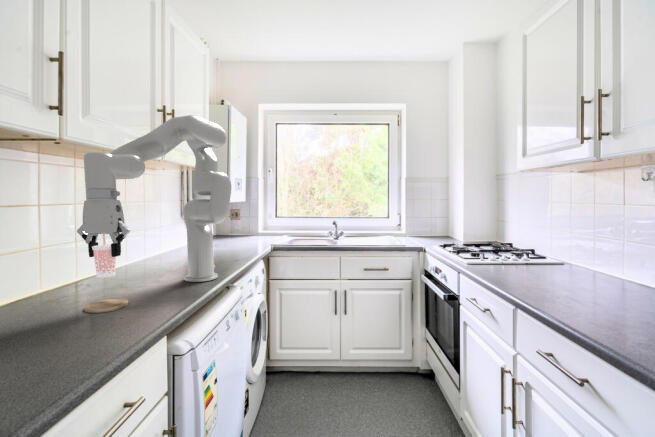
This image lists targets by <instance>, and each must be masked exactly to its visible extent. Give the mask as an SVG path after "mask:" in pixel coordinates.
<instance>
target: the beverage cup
mask: <svg viewBox="0 0 655 437" xmlns="http://www.w3.org/2000/svg"><path fill="white" fill-rule="evenodd" d="M102 240H103V242H102V243H103V244H98V245H97V246H93V247H92V250H93V252H94V257H93V259H94V266H95V274H96V277H97V278H110V277H111V278H112V277H114V276H116V261H117V260H116V257H117V256H116V257H112V254H111V244H112V243H111V244H106V234H102Z"/></svg>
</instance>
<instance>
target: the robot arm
mask: <svg viewBox="0 0 655 437" xmlns="http://www.w3.org/2000/svg"><path fill="white" fill-rule="evenodd" d="M185 141H186V143H187V145H188V147H189V148H190V149H191V151H192V153H193V155H194V158H195V165H194V166H195V167H194V172H193V178H192V182H191V183H192V184H191V191H192V193H193V194H194V195H195V196H198V197H202V198H196V199H192V200H189V201H188V202H186V203H185V205H184V207H183V210H182V211H183V212H182V214H183V218H184V221H185V226H186V227H185V229H186V239H187V241H186V244H187V267H188V268H187V270H188V272H187V273H188V274H187V275H185V276H184V277H183V279H184V281H185V282H189V283H200V282H201V283H203V282H209V281H213V280H215V279H218V277H219V274H218V273H217V272H215V271H214V269H216V265H215V264H214V241H213V240H214V236H213V235H214V234H213V230H212V228H211V225H218V224H221V223H224V221H225V220H226V218H227V216H228V214H229V207H230V202H231V194H232V181H231V179H230V176H228V174H227V173H224V172H220V171H218V165H219V160H218V159H217V156H216V154H215V153H214V151H213V150H212V149H218V148H221V147H223V146H225V144H226V143H227V133H226V132H225V130H224V129H223V127H222V126H220V124H217V123H215V122H212V121H209V120H207V119H205V118H202V117H200V116H197V115H183V116H175V117H171V118H169V119H168V120H166V121H165V122H163V123H161V124H160V125H159V126H157V127H156V128H154V129H153V130H151V131H149V132H148V133H146V134H144V135H141V136H140V137H137V138H136V139H134V140H132V141H130V142H127V143H125V144H123V145H121V146H119V147H118V148H116V149H114V150H112V151H111V152H110V153H109V152H99V151H98V152H97V151H95V152H94V151H92V152H91V151H90V152H87V153H85V154H84V156H83V166H84V167H83V168H84V185H85V199H86V200H84V202H83V206H82V207H83V208H82V224H81V225H80V226H79V227H78V229H77V230H76V233H77V234H78V235H79V236H81V238H82V239H83V240H84V241H85V243H86V244H87V246H88V247H87V248H88V257H89V258H92V257H93V258H94V252H93V250H92V247H93V246H97V245H99V242H97V240H98V236H99V235H103V234H105V235H109V237H110V238H111V241H112V243H111V254H112V257H120V256H121V253H122V244H121V243H122V242H123V240H125V238H126V237H127V235H129V233H131V229H130V228H129V226H127V225H126V224H125V215H124V211H123V210H124V209H123V206H122V203H121V202H122V201H121V200H120V199H118V197H120V195H121V192H120V191H118V190H117V180H133V179H138V178H140V177H141V176H142V175H143V174H144V173H145V171H146V164H145V162H147V161H151V160H156V159H158V158H162V157H164V156H166V155H167V154H168V153H169V152H171V151H172V150H173V149H175V148H176V147H177V146H179V145H180V144H181V143H183V142H185ZM203 197H206V198H203ZM207 197H209V199H208V198H207Z"/></svg>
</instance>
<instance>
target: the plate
mask: <svg viewBox="0 0 655 437" xmlns="http://www.w3.org/2000/svg"><path fill="white" fill-rule="evenodd" d="M128 305H129V300H128V299H126V298H110V299H108V298H107V299H101V300H98V301H95V302H92V303H89V304H86V305H85V306H84V312H86V313H89V314H101V313H109V312H114V311H118V310H121V309H124V308H126V307H127V306H128Z"/></svg>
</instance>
